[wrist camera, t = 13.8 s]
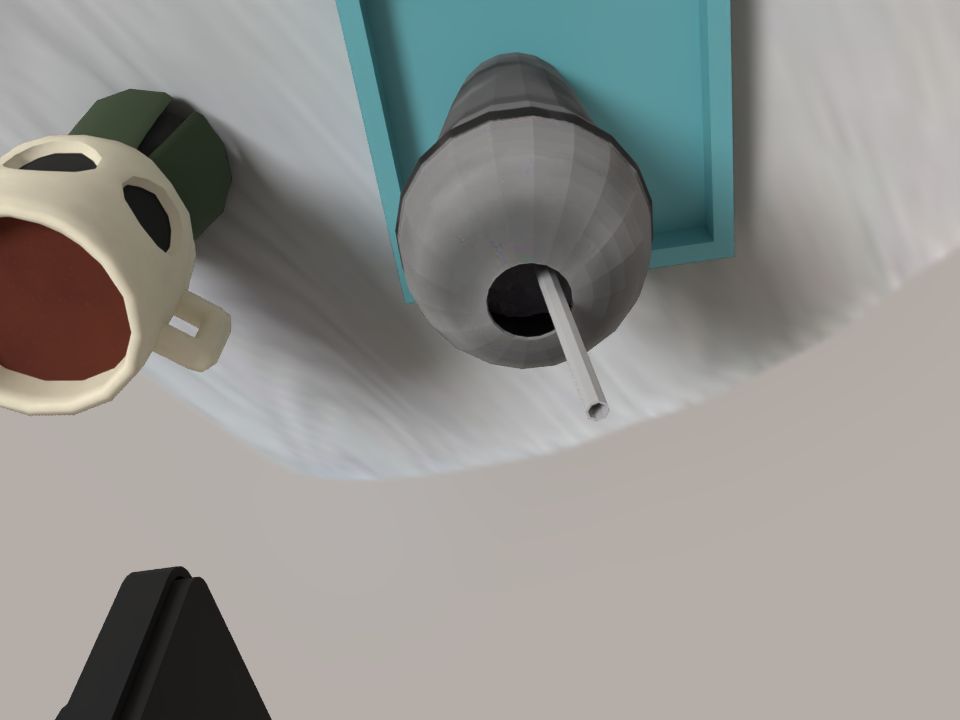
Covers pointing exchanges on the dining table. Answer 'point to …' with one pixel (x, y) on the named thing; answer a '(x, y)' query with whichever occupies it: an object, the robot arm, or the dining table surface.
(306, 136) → the dining table surface
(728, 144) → the tray
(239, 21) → the dining table surface
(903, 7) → the dining table surface
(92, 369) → the character mug
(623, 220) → the beverage cup
